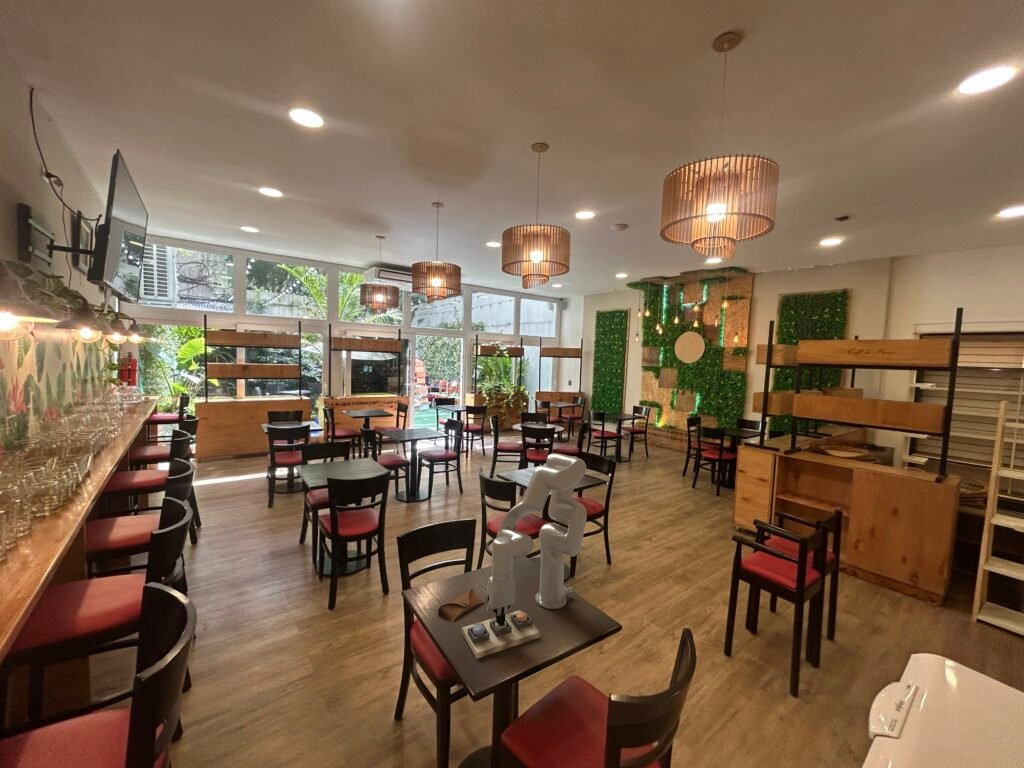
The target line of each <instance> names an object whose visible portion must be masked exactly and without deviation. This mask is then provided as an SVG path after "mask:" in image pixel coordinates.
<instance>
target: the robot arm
mask: <svg viewBox="0 0 1024 768" xmlns="http://www.w3.org/2000/svg"><path fill="white" fill-rule="evenodd" d="M545 464H546V465H539V466H537V467H536V468H535V469H534V471H533V472H532V475H531V478H530V481H529V482H528V485H527V487H526V490H525V493H524V495H523V496H522V499H521V500H520V501H519V502H518V503H517V504H516V505H514V506H513V507H512V508H510V510H509V511H508V512H506V514H505V515H504V516H503V518H502V521H501V523H500V525H499V528H498V530H497V534H496V538H494V539H493V540H492V544H491V547H492V548H491V572H490V573H491V575H490V576H489V577H488V581H487V585H486V591H485V592H486V593H485V603H486V604H487V606H486V611H487V612H488V613H494V614H495V617H496V622H497V623H498V624H499V626H500V627H501V626H502V625H503V626H504V624H505V614H508V610H509V609H510V608H511V607H513V606H514V605H516V598H517V588H516V586H517V585H516V580H515V576H514V573H515V572H516V571H517V568H516V567H514V560H515V559H517V558H523V557H526V556H528V555H529V554H530V553H531V552H532V551H533V549H534V540H533V539H532V537H531V536H530V535H528V534H525V533H523V532H521V531H518V530H516V529H514V528H515V526H516V524H517V522H519V520H520V519H521V518H523V517H525V516H527V515H531V514H536V513H540V512H542V511H543V510H544V508H545V506H546V502H547V499H548V497H549V495H550V492H551V495H550V500H549V504H548V511H547V513H548V516H549V518H550V519H551V520H554V521H556V522H558V523H561V524H564V525H567V526H568V527H565V526H562V525H559V524H557V523H554V522H547V523H545V524H543V525H541V527H540V529H539V531H538V532H539V533H538V539H539V540H538V541H539V546H540V570H539V572H540V573H539V591H538V592H537V593H536V594H535V602H536V603H537V604H538V605H539V606H540V607H541V608H544V609H548V610H557V609H558V610H559V609H561V608H563V607H565V606H566V604H567V596H566V595H567V594H571V593H573V591H574V590H573V588H572V587H571V586H570V587H567V586H566V585H564V580H565V579H564V577H565V574H564V573H565V556H568V557H575V556H577V555H578V554H579V552H580V550H581V547H582V543H583V540H584V534H585V529H586V524H587V520H588V519H587V518H588V515H587V514H588V513H587V512H588V511H587V509H586V507H585V506H584V505H583V503H580V502H577V501H574V500H573V496H574V490H575V489H574V488H575V486H574V485H576V484H577V483H579V482H580V481H581V480H582V479H583V478H584V476H585V474H586V472H587V465H586V462H585V460H583V459H582V458H579V457H576V456H571V455H567V454H562V453H558V452H554V453H550V454H548V455H547V457H546V461H545ZM564 555H565V556H564ZM569 589H570V590H569Z"/></svg>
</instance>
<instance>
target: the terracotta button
mask: <svg viewBox="0 0 1024 768" xmlns="http://www.w3.org/2000/svg"><path fill="white" fill-rule="evenodd" d="M527 615H528V613H527V612H526V613H524V611H522V612H519V613H517V614H516V620H517V621H518V623H522V622H525V621H527Z"/></svg>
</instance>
